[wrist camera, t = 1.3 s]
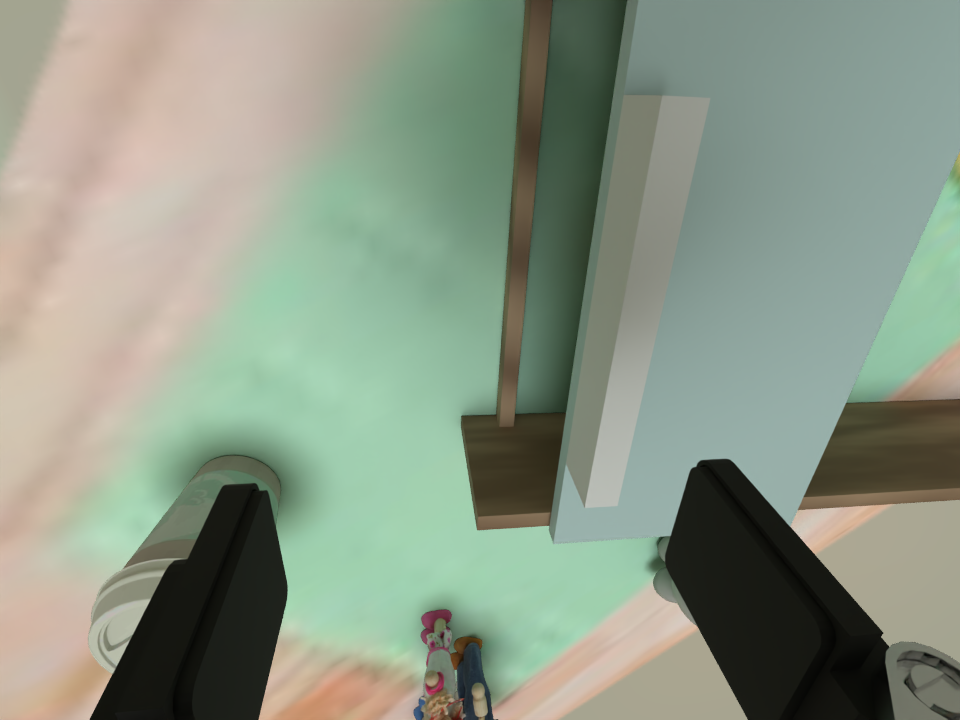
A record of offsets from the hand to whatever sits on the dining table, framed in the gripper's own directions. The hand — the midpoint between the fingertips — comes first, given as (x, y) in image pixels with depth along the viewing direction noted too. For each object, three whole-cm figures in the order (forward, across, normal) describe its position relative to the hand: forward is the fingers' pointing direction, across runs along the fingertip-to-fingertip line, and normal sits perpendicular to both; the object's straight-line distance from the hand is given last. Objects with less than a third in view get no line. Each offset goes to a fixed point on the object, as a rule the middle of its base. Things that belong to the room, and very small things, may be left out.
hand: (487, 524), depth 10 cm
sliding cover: (+12, -13, 0) cm, 18 cm away
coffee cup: (+22, +14, +18) cm, 32 cm away
